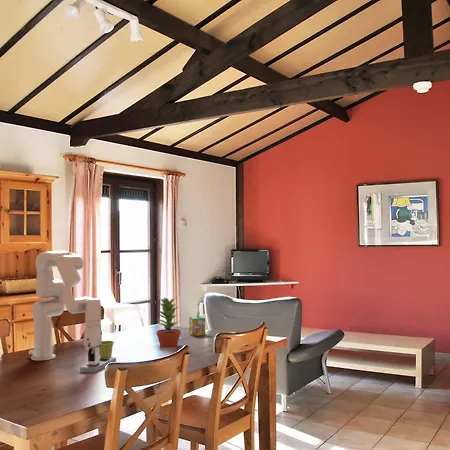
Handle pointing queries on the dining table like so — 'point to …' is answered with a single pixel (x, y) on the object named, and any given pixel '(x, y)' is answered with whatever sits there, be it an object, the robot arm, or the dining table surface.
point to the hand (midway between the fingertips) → (93, 359)
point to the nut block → (95, 356)
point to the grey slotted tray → (95, 368)
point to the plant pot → (106, 349)
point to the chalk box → (197, 325)
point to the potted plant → (168, 325)
